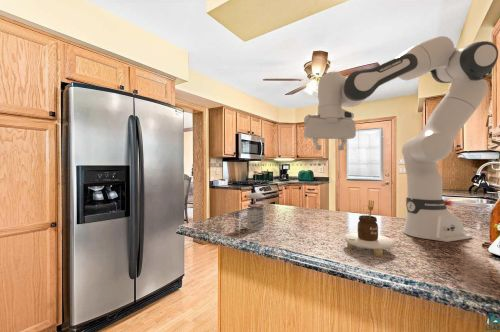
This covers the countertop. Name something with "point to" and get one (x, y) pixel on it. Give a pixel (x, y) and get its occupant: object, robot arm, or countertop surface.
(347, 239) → the leveling stand
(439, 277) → the countertop surface
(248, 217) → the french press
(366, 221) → the utensil holder
